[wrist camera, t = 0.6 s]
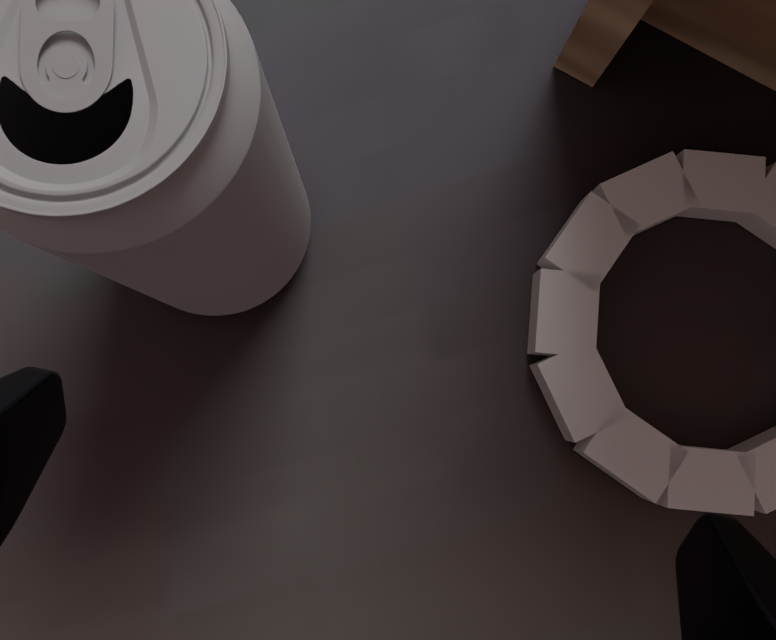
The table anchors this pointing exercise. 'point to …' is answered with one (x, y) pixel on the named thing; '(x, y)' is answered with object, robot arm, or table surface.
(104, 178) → the beverage can
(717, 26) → the wooden tray
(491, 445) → the table surface
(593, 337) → the socket ring
